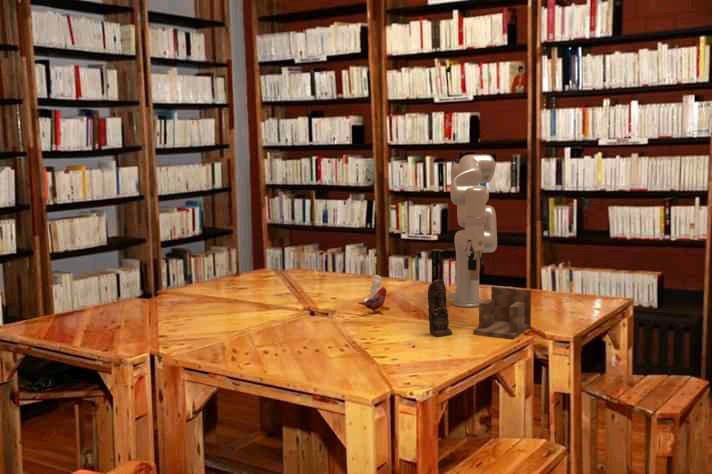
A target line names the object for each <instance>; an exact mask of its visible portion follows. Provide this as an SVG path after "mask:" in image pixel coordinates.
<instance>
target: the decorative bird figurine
mask: <svg viewBox="0 0 712 474" xmlns="http://www.w3.org/2000/svg"><path fill="white" fill-rule="evenodd" d="M387 293H388V291H387V289H386V287H383V286H382V287H381V289H380V290H379V291H378V292H377V294H375V295H374V296H372V297H371V298H370V299H368V300H367V301H366V302H362V301H358V302H357V304H358V305H359V304H360V305H363V306H365V307H366V308H367V309H369V310H372V313H371V314H372V315H374V314H379V313H380V312H381V310H379V311H378V309H380V308H381V307H382V306H383V305H384V303H385V299H386V295H387Z"/></svg>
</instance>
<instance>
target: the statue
mask: <svg viewBox="0 0 712 474" xmlns="http://www.w3.org/2000/svg"><path fill="white" fill-rule="evenodd" d="M427 303H428V323H429V325H428V326H429V333H430V334H431V335H432V336H434V337H445V336H450V335H452V334H453V330H452V329H450V328H449V323H450V320H449V311H448V307H447V288H446V284H445V282H444V280H443V279H436V280H433V281H432V282H431V283H430V285H429V286H428V289H427Z"/></svg>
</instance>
